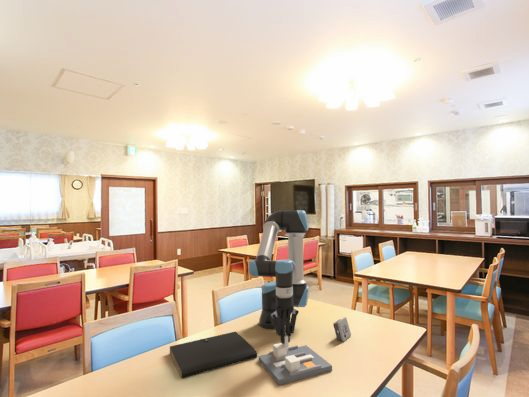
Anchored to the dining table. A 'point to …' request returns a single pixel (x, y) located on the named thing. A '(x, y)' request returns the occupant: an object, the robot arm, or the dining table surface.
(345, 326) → the electrical switch
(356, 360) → the dining table surface
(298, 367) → the outer tab
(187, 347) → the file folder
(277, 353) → the inner tab
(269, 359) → the switch panel
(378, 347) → the dining table surface
